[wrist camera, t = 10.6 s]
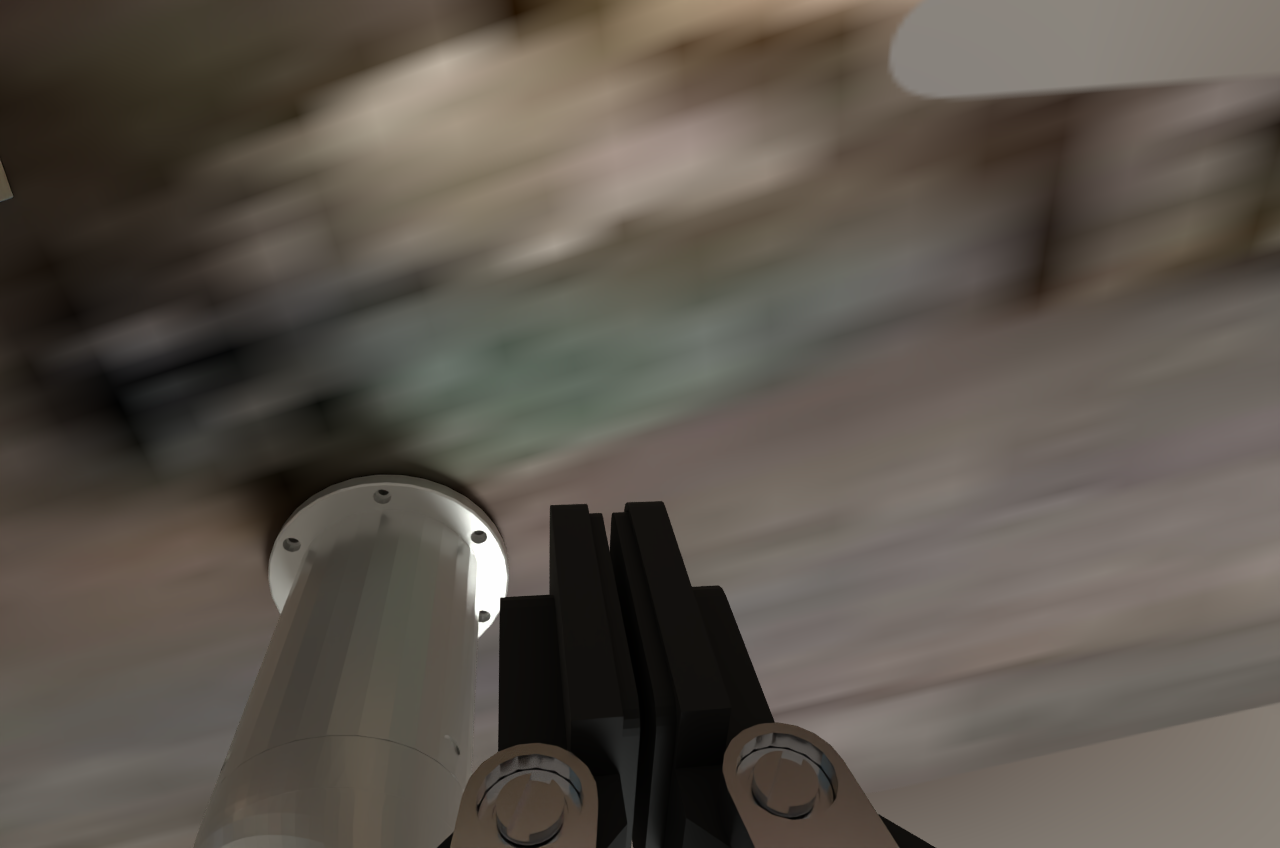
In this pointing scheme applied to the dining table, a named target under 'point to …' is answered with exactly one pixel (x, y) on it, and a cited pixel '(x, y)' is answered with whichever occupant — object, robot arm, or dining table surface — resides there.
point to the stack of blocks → (4, 186)
